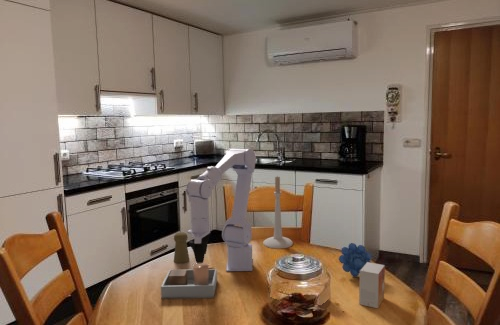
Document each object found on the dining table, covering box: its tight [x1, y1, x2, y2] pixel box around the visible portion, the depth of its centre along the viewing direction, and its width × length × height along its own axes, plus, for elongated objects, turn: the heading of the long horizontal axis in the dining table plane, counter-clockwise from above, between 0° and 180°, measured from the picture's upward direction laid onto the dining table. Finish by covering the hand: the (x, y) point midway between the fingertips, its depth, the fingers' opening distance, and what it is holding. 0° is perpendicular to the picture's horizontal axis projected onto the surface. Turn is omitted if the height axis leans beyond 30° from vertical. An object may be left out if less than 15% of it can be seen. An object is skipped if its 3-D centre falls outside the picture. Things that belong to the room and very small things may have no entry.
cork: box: [173, 231, 190, 264], centre depth 152 cm, size 6×6×11 cm
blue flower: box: [338, 242, 373, 278], centre depth 134 cm, size 12×7×12 cm, turn 92°
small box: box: [358, 261, 386, 309], centre depth 117 cm, size 8×6×10 cm
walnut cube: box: [169, 269, 188, 286], centre depth 127 cm, size 5×5×5 cm
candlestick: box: [262, 175, 294, 250], centre depth 169 cm, size 13×13×30 cm
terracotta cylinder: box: [192, 263, 209, 285], centre depth 127 cm, size 5×5×7 cm
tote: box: [160, 268, 218, 300], centre depth 127 cm, size 16×13×4 cm
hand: (201, 258), depth 126 cm, fingers open, 7 cm apart
